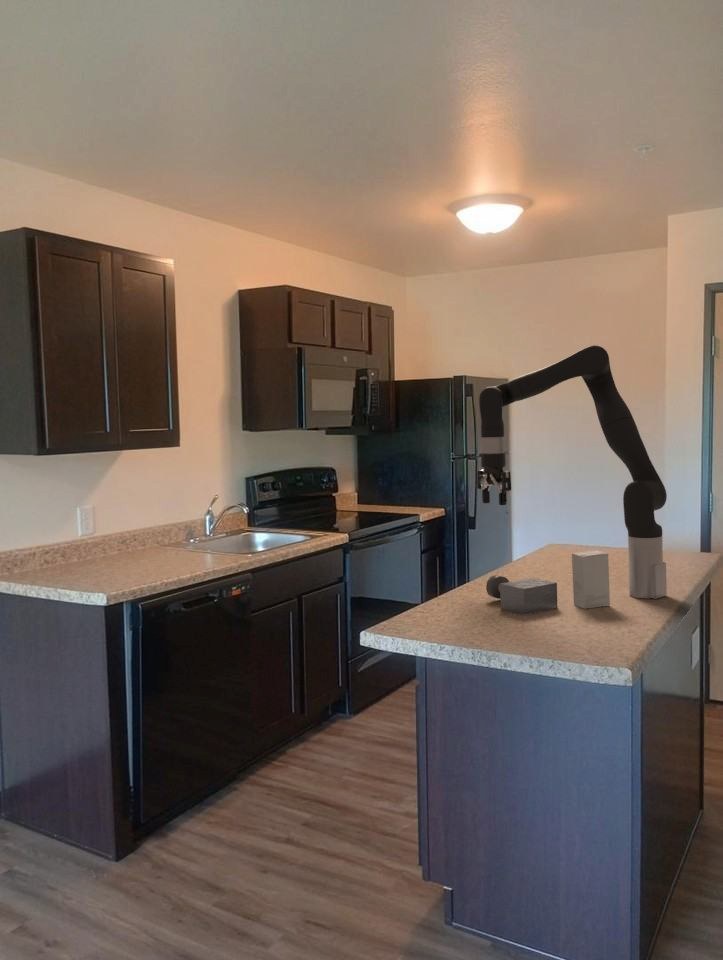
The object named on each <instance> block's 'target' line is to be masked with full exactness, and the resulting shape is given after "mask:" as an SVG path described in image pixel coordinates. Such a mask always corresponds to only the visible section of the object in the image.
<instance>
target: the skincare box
mask: <svg viewBox="0 0 723 960" xmlns="http://www.w3.org/2000/svg"><path fill="white" fill-rule="evenodd" d="M609 564H610V563H609V553H608V552H604V551H601V550H598V549H595V550H589V551H581V552H573V553H571V565H572V566H571V568H572V592H573V605H574V606H576V607H578V606H579V608H581V609H583V608H584V609H583V610H587V608H588V609H594V608H601V607H602V606H603V607H607V606H611V599H610V597H611V596H610V567H609Z"/></svg>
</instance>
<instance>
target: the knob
mask: <svg viewBox="0 0 723 960" xmlns="http://www.w3.org/2000/svg"><path fill="white" fill-rule="evenodd" d="M507 582H510V581H509V579H508V578H507V577H505V576H502V575H496V574H495V575H492V576H490V577H489V578H488V580H487V582H486V585H485V588H486V592H487V594H488V596H489V597H491V598H495V599H499V600H501V598H500V584H501V583H507Z"/></svg>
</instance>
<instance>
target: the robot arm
mask: <svg viewBox="0 0 723 960" xmlns="http://www.w3.org/2000/svg"><path fill="white" fill-rule="evenodd" d="M610 362H611V361H610V356H609V354H608V351H607V350H606V349H605V348H604V347H602V346H599V345H596V344H594V345H589V346H586V347H584V348H582V349H580V350H578V351H577V352H574V353H572V354H571V355H569V356H567V357H565V358H563V359H561V360H559V361H557V362H555V363H552V364H550V365H548V366H546V367H543V368H540V369H537V370H535V371H531V372H529V373H526V374H522V375H520V376H517V377H514V378H512V379H511V380H509V381H508V382H507V381H506V382H503V383H501V384H498V385H495V386H487V387H485V388H483V389H482V391H481V392H480V393H479V396H478V401H479V412H480V418H481V419H480V423H481V424H480V436H481V437H480V438H481V439H480V466H481V468H483V469H479V470H477V483H476V485H477V489H478V490H480V491H481V492H482V493H481V494H482V495H481V496H482V504H490V503H491V501H490V500H491V498H490V489H491V487H492V486H494V487H495V488H497V490H498V504H499V506H506V505H507V499H508V498H507V493H508V492H510V491H512V480H511V479H512V477H511V471H509V470H506V471H504V468H505V467H506V464H507V463H506V460H507V459H506V440H505V424H504V420H503V408H504V407H506V406H509V405H511V404H513V403H515V402H520V401H523V400H527V399H530V398H532V397H535V396H537V395H540V394H542V393H544V392H547V391H549V390H550V389H552V388H553V387H555V386H558V385H559V384H561V383H563V382H566V381H568V380H571V379H574V378H575V379H576V378H578V377H581V378H582V380H583V382H584V383H585V385H586V387H587V388H588V391H589V393H590V395H591V397H592V400H593V403H594V406H595V412H596V415H597V418H598V421H599V425H600V428H601V430H602V432H603V436H604V438H605V441H606V443H607V445H608V446H609V448H610V449H611V451H612V452H614V454H615V455H616V456H617V457H618V458H619V459H620V461H621V462H623V464H624V465H625V466H626V469H628V472H629V474H630V476H631V478H632V481H631V482H630V483H628V484H627V486H625V489H624V492H623V495H622V496H623V499H622V500H623V514H624V515H623V516H624V518H623V519H624V524H625V527H626V530H627V545H628V549H627V551H628V552H627V553H628V585H629V587H628V590H629V592H628V593H629V596H630V597H632V598H636V599H637V598H638V599H650V598H653V599H654V600H655V599H656V600H657V598H658V599H660V598H663V597H666V596H667V563H666V562H665V561H664V551H663V541H664V540H663V528H662V526H661V525H660V524H658V523H657V522H656V517H655V511H658V510H660V509H662V508H663V507H665V504H666V502H667V490H666V487H665V485H664V482H663V481H662V479H661V477H660V476H659V473H658V471H657V470H656V468H655V467H654V464H653V462H652V460H651V459H650V456H649V454H648V451H647V449H646V447H645V444H644V442H643V440H642V437H641V435H640V432H639V429H638V426H637V424H636V421H635V419H634V416H633V414H632V413H631V410H630V408H629V407H628V405H627V404H626V402H625V400H624V399H623V397H622V396H621V394H620V392H619V391H618V388H617V387H616V383H615V379H614V376H613V373H612V368H611V363H610Z"/></svg>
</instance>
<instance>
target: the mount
mask: <svg viewBox="0 0 723 960" xmlns="http://www.w3.org/2000/svg"><path fill="white" fill-rule="evenodd" d="M500 598H501V599H500V609H501V610H504V609H505V611H508V610H509V611H508V612H511V611H512V613H515V612H516V613H515V614H519V613H520V615H523V614H524V615H523V616H526V615H525V614H527V615H531V614H530V613H532V614H535V612H536V613H540V612H539V611H541V612H545V610H546V611H550V610H555V609H558V607H559V605H558V583H557V582H555V581H549V580H544V579H540V578H535V577H530V578H524V579H518V580H513V581H509V582H507V583H501V584H500ZM554 608H555V609H554ZM549 609H550V610H549Z"/></svg>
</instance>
